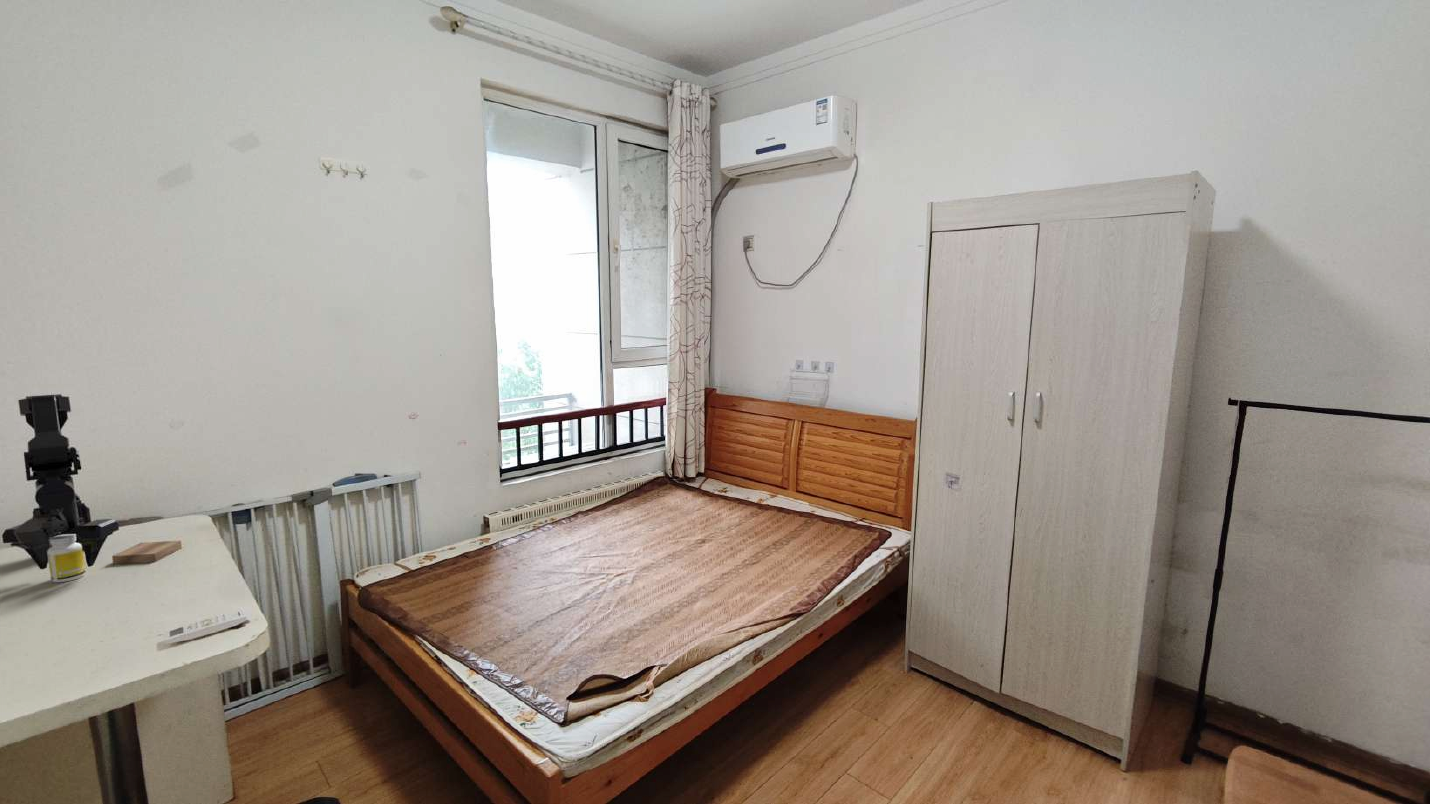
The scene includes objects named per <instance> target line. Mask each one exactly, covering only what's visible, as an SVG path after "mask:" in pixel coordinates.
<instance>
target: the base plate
mask: <svg viewBox="0 0 1430 804" xmlns="http://www.w3.org/2000/svg"><path fill="white" fill-rule="evenodd" d="M180 549H182V540H170V541H169V540H167V541H149V542H140V543H138V544H135V545H133V546H132V547H131V546H130V547H128V548H126V549H125V550H122V551H120V552H118V553H116V554H114V555H112V564H113V565H120V564H121V565H123V564H135V563H137V564H140V563H153V562H154V563H155V562H157V561H160V560H162V559H164V558H166V557H167V556H169V555H172V554H173V553H175V552H177V551H178V550H180ZM159 559H160V560H159Z"/></svg>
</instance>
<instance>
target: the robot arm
mask: <svg viewBox="0 0 1430 804" xmlns="http://www.w3.org/2000/svg"><path fill="white" fill-rule="evenodd" d="M17 401H18V406H19V407H18V408H19V415H20V416H21V417H25V421H26V423H27V425H29V426H30V427H31V428H32V429H33V431H34V437H32V438H31V439H30V440H28V442H27V451H24V452H23V457H24V458H23V460H24V466H25V475H26V477H25V478H26V481H28V482H29V481H30V482H31V481H35V482H34V484H35V493H34V494H35V495H34V501H35V502H36V504H37V505H38V507H35V508H33V511H32V517H31V518H29V519H28V520H26V521H25V522H24V523H21V524H18V525H15V526H13V527H10V528H5V529H4V531H3V532H2V535H1V539H2V543H3V544H9V545H10V546H12V547H17V548H20V549H23V550H24V551H25V552H26V553H27V554H28V555H29V556H30V557H31V559H32V560H33V562H34V563H35V564H36V566H38V568H39V569H40V570H45V569H47V567H48V564H49V561H48V555H47V551H48V549H49V548H51V547H52V545H51V543H50V538H52V537H54V536H58V535H64V534H76V541H75V542H76V543H80V544H81V545H82V551H83V550H84V557H85V563H86V565H87V567H89V568H90V567H92V566H94V564H95V563H96V561H97V558H98V556H99V554H100V551H101V549H102V547H103V545H104V543H105V542H106V540H107V539H108V537H109V536H112V535H113V534H114V532H117V531H119V530H120V528H119V527H120V526H119V523H118V521H117V520H116V519H114V518H105V519H95V520H92V519H91V518H92V517H91V512H90V511H91V510H90V507H88V506H87V505H85V504H86V503H85V502H82V500H80V499H81V498H80V495H78V494H77V493H76V491H75V485H74V477H73V476H74V475H75V476H76V475H79V471H80V470H82V464H81V458H80V451H78V450H77V449H76V447H75V446H70V440H69V438H68V437H66V436H64V435H63V434H62V429H63V427H64V426H65V424H66V422H67V421H68V420H69V417H68V415H69V414H68V413H72V410H71V403H70V402H71V401H70V397H69V396H62V393H61V394H59V393H58V394H43V395H28V396H25V398H22V399H18V400H17ZM72 467H73V469H72ZM31 472H32V474H31Z"/></svg>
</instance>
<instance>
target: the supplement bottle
mask: <svg viewBox="0 0 1430 804" xmlns="http://www.w3.org/2000/svg"><path fill="white" fill-rule="evenodd" d="M75 541H76V534H64V535H58V536H54V537H52V538H50V543H51V545H52V547H51V548H49V549H48V551H47V555H48V567H49V574H50V580H51V582H52V583H65V582H66V583H67V582H71V581H74V580H77V579H80V578H83V577H84V576H85V575H86V566H85V560H84V552H83V551H82V545H81V544H80V543H76V542H75Z"/></svg>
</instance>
